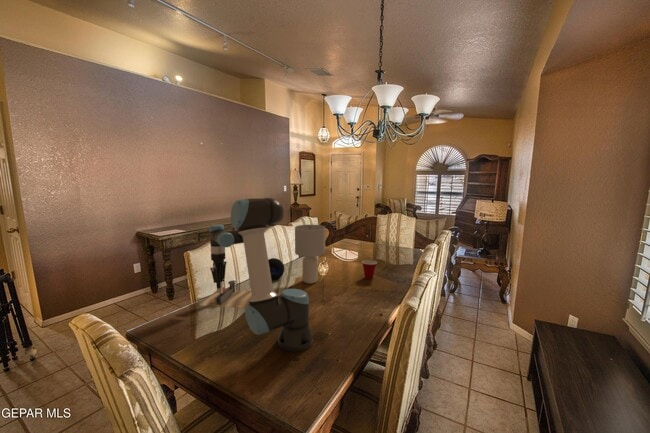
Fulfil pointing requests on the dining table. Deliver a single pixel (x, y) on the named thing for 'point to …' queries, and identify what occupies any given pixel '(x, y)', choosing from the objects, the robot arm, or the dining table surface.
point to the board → (230, 299)
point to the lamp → (310, 249)
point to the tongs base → (222, 294)
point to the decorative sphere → (276, 268)
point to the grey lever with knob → (227, 293)
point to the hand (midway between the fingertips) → (220, 292)
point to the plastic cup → (369, 268)
